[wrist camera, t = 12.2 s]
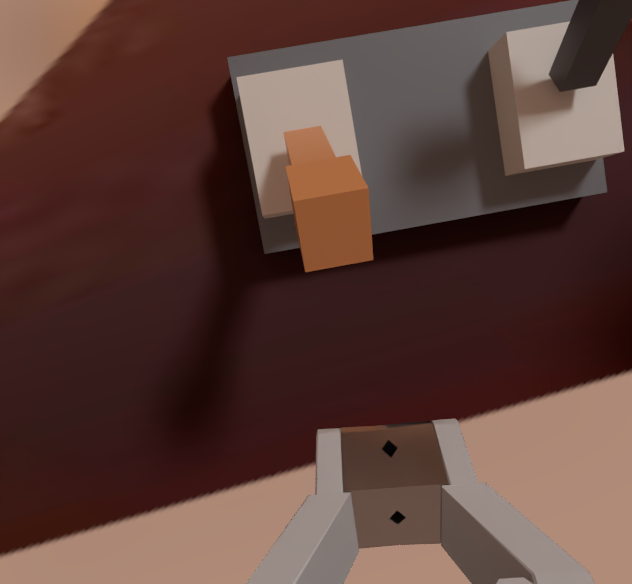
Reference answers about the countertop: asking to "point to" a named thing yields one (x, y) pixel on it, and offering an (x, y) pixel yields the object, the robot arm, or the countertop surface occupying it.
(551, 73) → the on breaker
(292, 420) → the countertop surface
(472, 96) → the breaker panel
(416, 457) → the robot arm
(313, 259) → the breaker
